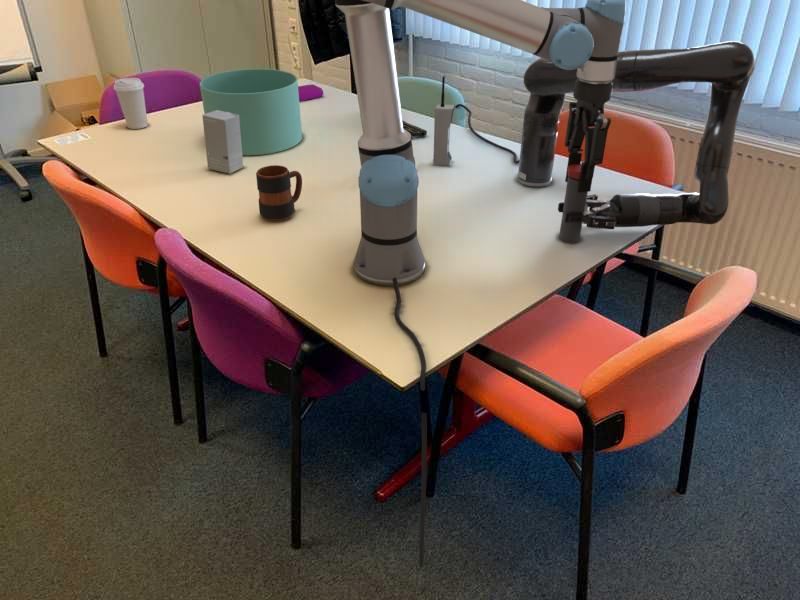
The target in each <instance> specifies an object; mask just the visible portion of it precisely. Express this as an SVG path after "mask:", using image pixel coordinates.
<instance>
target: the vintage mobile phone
mask: <svg viewBox="0 0 800 600" xmlns="http://www.w3.org/2000/svg"><path fill="white" fill-rule="evenodd" d="M441 78H442V80H441V81H442V82H441V95H440V96H441V97H440V98H441V99H440V100H441V101H440V104H436V106H435V108H434V124H433V126H434V127H433V155H432V156H433V158H432V160H433V161H432V164H433V165H435V166H449V167H450V166H451V163H452V161H453V157H452V155H451V151H450V134H451V132H450V131H451V124H452V122H453V117H454V110H455V105H454V104H445V81H446V79H445V78H446V77H445V75H443V76H442V77H441Z"/></svg>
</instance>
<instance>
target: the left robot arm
mask: <svg viewBox="0 0 800 600" xmlns="http://www.w3.org/2000/svg"><path fill="white" fill-rule="evenodd" d="M334 4H335V7H336V8H338V9H339V10H340V11H341V12H342V13H343V14H344V16H345V23H346V31H347V37H348V43H349V49H350V57H351V62H352V69H353V77H354V83H355V90H356V95H357V96H356V97H357V102H358V109H359V115H360V121H361V128H362V135H361V136H360V137H359V139H357V149H358V155H359V160H360V169H359V175H358V188H359V205H360V207H359V208H360V239H359V242H358V247H357V249H356V252H355V256H354V259H353V270H354V273H355V275H356V276H357V277H358V278H359V279H360V280H362V281H364V282H366V283H369V284H370V285H371V284H372V285H376V286H382V287H393V288H394V292H395V298H396V303H395V308H394V319H395V322H396V323H397V325H398V326H399V327H400V329H402V330H403V331H404V332H405V333H406V334H407V335H408V336H409V337H410V338H411V340H412V341H413V344H414V345H415V347H416V350H417V352H418V356H419V360H420V375H419V386H420V387H419V389H420V391H422V392H425V390H426V373H427V361H426V355H425V352H424V349H423V347H422V345H421V343H420V341H419V339H418V338H417V335H415V333H414V332H413V331H412V330H411V329H410V328H409V327H408V326H407V325H406V324H405V323H404V322H403V321H402V320H401V317H400V309H401V303H402V296H401V292H400V288H399V286H402V285H406V284H410V283H413V282H415V281H417V280H418V279H420V278H421V276H423V274H424V273H425V270H426V261H425V255H424V252H423V250H422V247H421V244H420V241H419V238H418V188H419V184H420V183H419V182H420V181H419V175H418V169H417V166H416V159H415V156H414V147H413V142H412V136H411V134H410V133H409V132H408V131H406V130H405V129H404V128H403V123H402V120H403V114H402V106H401V98H400V89H399V80H398V73H397V63H396V57H395V56H396V55H395V47H394V39H393V31H392V21H391V15H390V14H391V12H390V10H391V11H392V10H395V9H397V8H399V7H402V8H405V9H406V10H410V11H414V12H416V13H418V14H421V15H424V16H426V17H429V18H433V19H435V20H438V21H441V22H443V23H447V24H449V25H452V26H454V27H457V28H459V29H463V30H466V31H468V32H471V33H473V34H477V35H479V36H482V37H485V38H487V39H490V40H493V41H496V42H499V43H501V44H504V45H507V46H508V47H509V46H510V47H513V48H514V49H517V50H520V51H523V52H525V53H528V54H531V55H534V56H536V57H538V58H543V59H546V60H549V61H552V62H553V63H554V64H555V66H557V67H560V68H562V69H565V70H574V69H577V75H576V76H577V77H578V79H577V80H576V81H575V87H574V92H573V95H572V96H573V99H575V100H576V101H570V102H569V103H568V106H569V107H568V118H567V125H566V132H565V138H564V147H565V148H567V152H568V159H567V165H566V166H567V167H566V171H567V170H568V167H569V166H570V165H572V164H582V166H581V172H580V178H579V184H578V192H579V193H581V192H587V193H589V192H591V188H592V183H593V178H594V173H595V168H596V166H597V165H602V164H603V162H604V155H605V149H606V143H607V138H608V137H607V136H608V132H609V129H610V126H611V123H612V119H611V118H610V117H605V104H606V103H608V102H609V101H610V100H611V98H612V95H613V94H612V93H613V92H612V88H613V83H612V80H613V79H614V78H615V72H616V66H617V60H618V52H620V47H621V41H622V36H623V31H624V26H625V23H626V22H625V21H626V14H627V13H626V12H627V2H626V0H586V2H585V4H584V7H583V6H582V7H544V6H541V7H540V6H537V5H535V4H532V3H530V2H527V1H524V0H334ZM583 143H584V149H583V148H582V146H583ZM583 151H584V161H582V156H583V153H582V152H583ZM565 173H566V174H565V179H564V181H565V183H567V181H568V175H567V172H565ZM427 459H428V413H427V412H421V478H420V479H421V484H420V515H419V516H420V517H419V520H420V521H419V551H418V553H419V554H418V556H419V558H418V567H419V568H423V567H424V558H425V557H424V554H425V525H426V524H425V522H426V499H427V496H426V495H427V468H428V467H427V463H428V461H427Z"/></svg>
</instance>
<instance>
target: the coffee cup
mask: <svg viewBox="0 0 800 600" xmlns="http://www.w3.org/2000/svg"><path fill="white" fill-rule="evenodd" d="M144 88H145V84H144V82H142V80H141V79H140V78H138V77H124V78H119V79H117V80H115V81H114V84H113V90H114V91H115V93H116V96H117V99H118V102H119V105H120V108H121V112H122V114H123V117H124V120H125V122H126V126H127V128H128V129H131V130H139V129H144V128H146V127H148V125H149V123H148V116H147V115H148V114H147V109H146V108H147V107H146V100H145V91H144Z"/></svg>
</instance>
